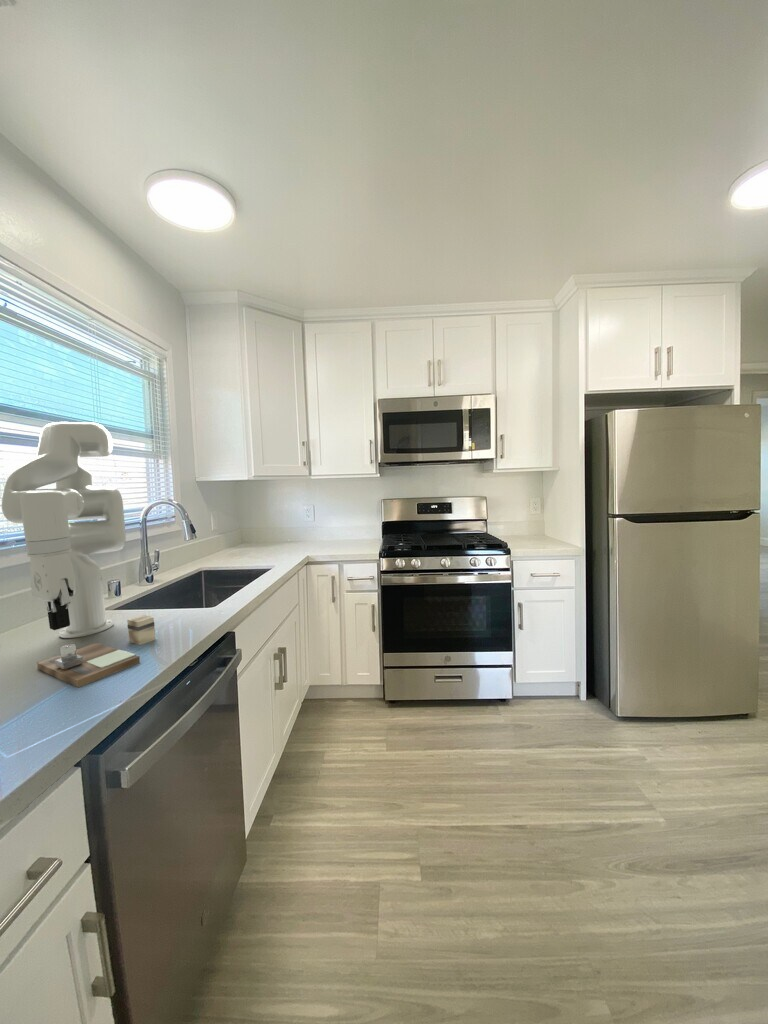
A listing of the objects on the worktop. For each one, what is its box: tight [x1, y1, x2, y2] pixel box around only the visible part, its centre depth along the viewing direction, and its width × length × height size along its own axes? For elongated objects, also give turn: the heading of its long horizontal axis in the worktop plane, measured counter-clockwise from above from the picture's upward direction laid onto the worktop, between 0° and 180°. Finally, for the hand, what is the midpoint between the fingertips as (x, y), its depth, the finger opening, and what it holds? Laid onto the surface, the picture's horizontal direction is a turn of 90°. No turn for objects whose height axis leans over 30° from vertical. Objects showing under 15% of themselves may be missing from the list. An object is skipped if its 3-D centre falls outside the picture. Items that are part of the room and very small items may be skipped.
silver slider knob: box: [55, 643, 84, 670], centre depth 87 cm, size 4×4×4 cm
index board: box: [36, 642, 141, 688], centre depth 90 cm, size 20×12×2 cm, turn 59°
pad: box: [86, 649, 137, 668], centre depth 90 cm, size 7×7×1 cm
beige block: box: [126, 614, 156, 646], centre depth 104 cm, size 5×4×6 cm
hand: (60, 627), depth 89 cm, fingers closed
